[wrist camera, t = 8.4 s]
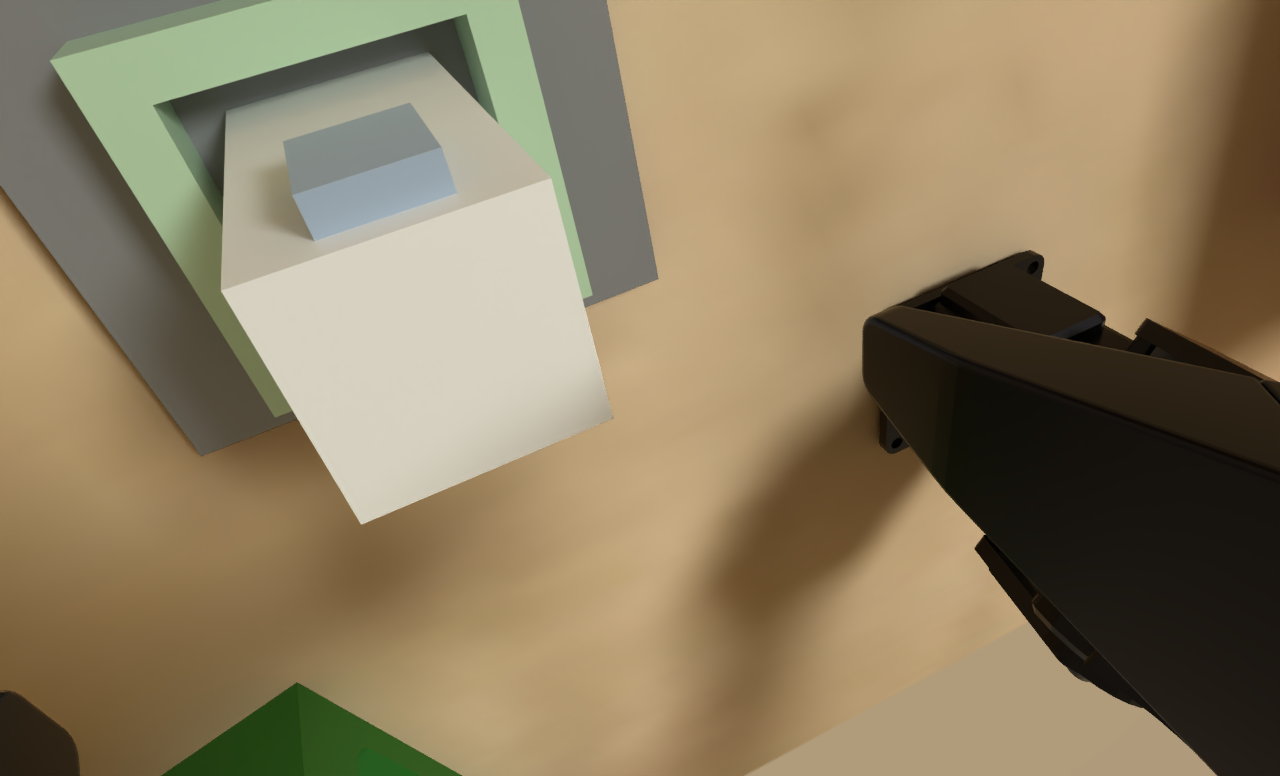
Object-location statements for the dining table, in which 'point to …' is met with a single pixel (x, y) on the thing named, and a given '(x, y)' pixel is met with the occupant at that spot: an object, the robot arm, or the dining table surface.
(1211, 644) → the robot arm
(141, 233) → the panel
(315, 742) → the green bracket
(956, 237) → the dining table surface
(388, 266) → the plug
